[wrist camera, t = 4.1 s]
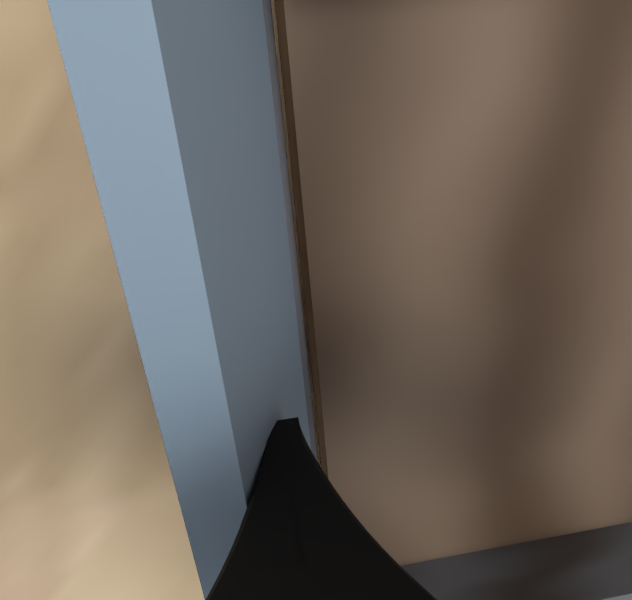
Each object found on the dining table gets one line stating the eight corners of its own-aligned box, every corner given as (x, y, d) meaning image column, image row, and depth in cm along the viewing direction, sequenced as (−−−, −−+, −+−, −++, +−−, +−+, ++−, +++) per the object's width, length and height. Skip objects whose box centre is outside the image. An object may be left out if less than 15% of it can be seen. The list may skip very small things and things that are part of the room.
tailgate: (269, -45, 11) (149, -61, 6) (333, 590, 20) (307, 806, 15) (205, -38, 12) (34, -48, 6) (296, 587, 21) (257, 799, 15)
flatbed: (807, -111, 14) (1037, -151, 10) (649, 493, 24) (737, 594, 20) (268, -67, 13) (291, -93, 9) (329, 552, 22) (354, 672, 18)
